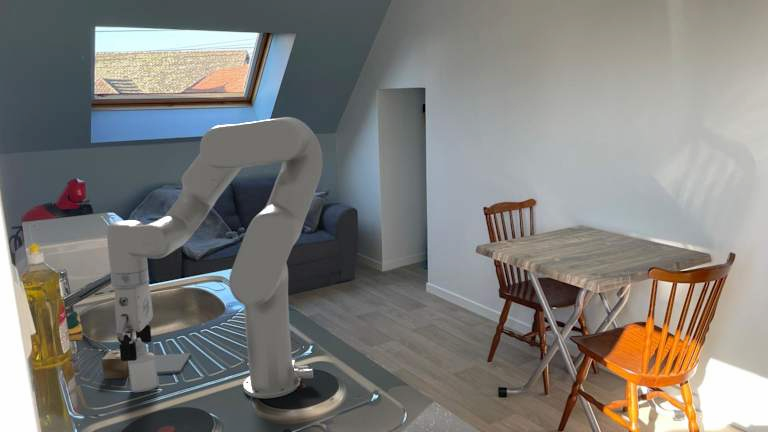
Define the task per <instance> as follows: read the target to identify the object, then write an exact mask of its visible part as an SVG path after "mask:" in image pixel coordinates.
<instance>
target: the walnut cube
mask: <svg viewBox="0 0 768 432" xmlns="http://www.w3.org/2000/svg"><path fill="white" fill-rule="evenodd" d="M101 363H102V364H101V365H102V372H103V378H104V380H107V379H110V380H111V379H122V378H123V379H124V378H127V377H129V367H128V361H121V356H120V349H115V350H109V351H108V352H107V353H106V354H105V356H103V358H102V359H101Z"/></svg>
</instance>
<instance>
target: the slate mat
mask: <svg viewBox="0 0 768 432" xmlns="http://www.w3.org/2000/svg"><path fill="white" fill-rule="evenodd" d="M191 353H192V352H186V353H170V354H156V355H155V354H154V357H155V364H156V372H157V375H164V374H165V375H166V374H167V375H168V374H180V373H181V372H183V369H184V368H185V366H186V365H187V363H188V361H189V359H190V358H191V356H192V354H191Z"/></svg>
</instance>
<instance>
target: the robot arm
mask: <svg viewBox="0 0 768 432" xmlns="http://www.w3.org/2000/svg"><path fill="white" fill-rule="evenodd" d="M279 163H282V164H281V167H280V171H279V172H278V175H277V177H276V180H275V182H274V184H273V185H274V186H273V188H272V190H271V194H270V196H269V199H268V201H267V202H266V205H265V206H264V208H263V209H262V210H261V211H260V212H259V213H257V214H256V215H255V216H254V217H253V219H252V220H251V222H250V223H249V225H248V227H247V229H246V231H245V234H244V236H243V237H242V242H241V245H240V246H239V249H238V251H237V254H236V258H235V261H234V263H233V265H232V268H231V271H230V273H229V278H228V279H229V280H228V284H229V290H230V292H231V294H232V296H233V297H234V298H235V300H236V301H237V302H238V303H240V304H243V309H244V311H243V313H244V324H245V325H244V326H245V337H246V348H247V360H248V372H249V376H248V377H247V378H246V379H245V380H244V382H243V391H244V392H245V394H246V395H248V396H250V397H252V398H257V399H275V398H280V397H283V396H287V395H289V394H291V393H293V392H294V391H296V390H297V389H298V388H299V387H300V385H301V383H300V381H301V379H312V378H314V369H313V368H309V365H302V366H298V365H296V361H295V360H296V359H293V353H292V341H291V339H292V338H291V329H290V326H291V325H290V312H289V311H290V310H289V309H290V308H289V268H288V264H287V261H288V259H289V256H290V254H291V251H292V249H293V246H294V245H295V244H296V243H297V241H298V240H299V238H300V236H301V233H302V231H303V230H302V229H303V227H304V224H305V221H306V218H307V215H308V213H309V210H310V208H311V204H312V202H313V199H314V196H315V194H316V192H317V191H316V190H317V188H318V186H319V182H320V179H321V176H322V171H323V152H322V147H321V145H320V142H319V139H318V138H317V136H316V135H315V133H314V132H313V130H312V129H311V128H310V127H309V126H308V125H307V124H306V123H305V122H304V121H302V120H300V119H298V118H295V117H291V116H285V117H284V116H283V117H278V118H271V119H263V120H258V121H251V122H244V123H237V124H222V125H215V126H214V127H211V128H210V129H208V130H206V132H205V133H204V134H203V136H202V138H201V140H200V144H199V154H198V155H197V157H196V158H195V159H194V160H193V162H192V163H191V165H189V167H188V169H187V170H186V171H185V172H184V173H183V175H182V176H181V185H182V188H181V189H182V190H181V192H180V194H179V196H178V198H177V199H176V201H175V202H174V203H173V205H172V206H171V208H170V209H169V210H168V211H167V212H166V214H164V216H163V217H160V218H159V219H157V220H155V221H153V222H150V223H148V224H143V222H141V221H140V220H139V221H138V220H133V219H131V220H130V219H127V220H119V221H114V222H111V223H110V224H108V225H107V228H106V239H107V241H106V242H107V250H108V258H109V260H108V261H109V270H110V281H111V286H112V288H114V310H115V311H114V313H115V323H116V325H115V326H116V330H115V333H116V335H117V341H118V345H119V346H118V347H119V350H120V356H121V361H135V360H136V359H137V353H136V343H137V338H141V341H142V342H144V343H145V344H147V343H148V344H149V343H151V342H152V331H151V330H152V329H151V325H150V324H151V321H152V320H153V318H154V309H153V302H152V296H151V290H150V284H149V283H150V277H149V265H148V259H155V260H156V259H162V258H164V257H167V256H168V255H170V254H171V253H173V252H175V251H176V250H177V249H179V248H181V247H182V246H184V245H185V244H186V242H188V240H190V238H191V237H192V236H193V234H194V233H195V232H196V231H197V230H198V228H199V227H200V225H201V224H202V223H203V222H204V220H205V219H206V218H207V216H208V214H209V213H210V212H211V210H212V208H214V206H215V204H216V202H217V200H218V199H219V198H220V196H221V195H222V194H223V193H224V191H225V190H226V189H227V187H228V186H229V185H230V184H231V182H233V179H234V178H235V177H236V176H237V175H238V174H239V172H240V171H241V170H242V168H249V167H257V166H266V165H273V164H279ZM128 334H129V335H128ZM135 338H136V342H135ZM298 386H299V387H298ZM297 387H298V388H297Z"/></svg>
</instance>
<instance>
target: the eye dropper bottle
mask: <svg viewBox="0 0 768 432" xmlns="http://www.w3.org/2000/svg"><path fill="white" fill-rule="evenodd" d="M136 353H137V359H136V360H135V361H128V367H129V374H128V376H129V382H130V389H131V392H132V393H143V392H147V391H151V390H154V389H156V388H158V386H159V381H158V374H157V372H156V364H155V357H154V355H155V354H154V353H153V352H149V351H147V345H146V343H144V342H142V341H141V338H137V340H136Z"/></svg>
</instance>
